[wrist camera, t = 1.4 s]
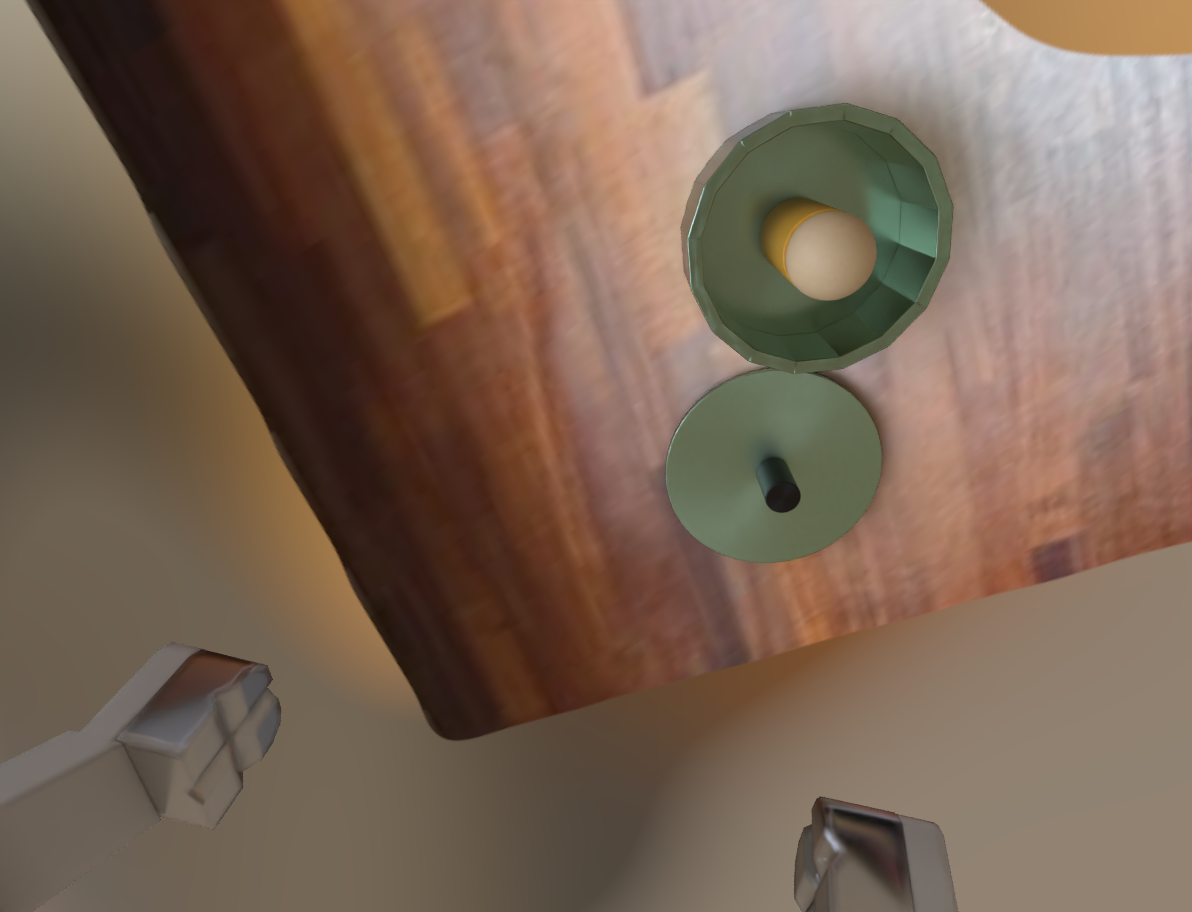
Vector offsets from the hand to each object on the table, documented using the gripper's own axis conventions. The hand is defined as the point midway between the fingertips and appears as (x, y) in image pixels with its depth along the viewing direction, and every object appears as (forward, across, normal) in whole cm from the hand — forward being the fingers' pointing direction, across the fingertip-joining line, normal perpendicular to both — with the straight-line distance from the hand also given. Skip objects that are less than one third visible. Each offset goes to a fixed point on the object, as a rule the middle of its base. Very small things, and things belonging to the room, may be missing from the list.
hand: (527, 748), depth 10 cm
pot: (+42, -5, +4) cm, 43 cm away
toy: (+42, -5, +4) cm, 42 cm away
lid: (+39, -7, +20) cm, 45 cm away
